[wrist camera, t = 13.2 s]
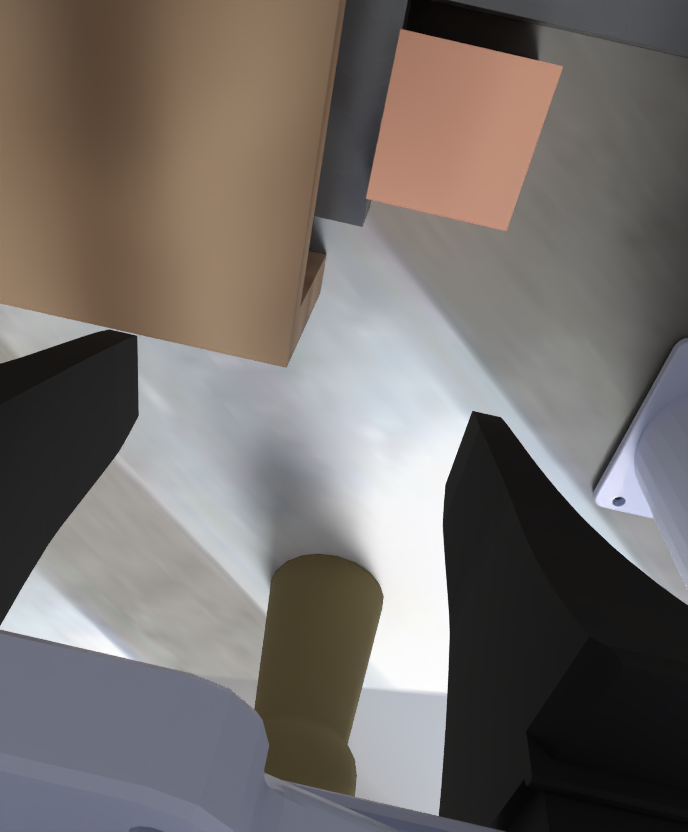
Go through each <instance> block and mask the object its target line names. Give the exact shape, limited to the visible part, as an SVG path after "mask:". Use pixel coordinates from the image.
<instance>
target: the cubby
mask: <svg viewBox="0 0 688 832" xmlns="http://www.w3.org/2000/svg"><path fill="white" fill-rule="evenodd" d="M345 5H346V0H0V303H1V304H5V305H10V306H14V307H19V308H23V309H28V310H32V311H36V312H41V313H45V314H50V315H54V316H59V317H63V318H68V319H72V320H77V321H81V322H86V323H90V324H94V325H99V326H103V327H108V328H112V329H117V330H121V331H126V332H130V333H135V334H139V335H144V336H148V337H152V338H157V339H161V340H166V341H170V342H175V343H179V344H184V345H188V346H193V347H197V348H202V349H206V350H210V351H215V352H219V353H224V354H228V355H233V356H237V357H242V358H246V359H251V360H255V361H259V362H264V363H268V364H273V365H277V366H282V367H286V368H287V365H288V363H289V361H290V359H291V357H292V354H293V352H294V350H295V348H296V345H297V343H298V341H299V339H300V337H301V334H302V332H303V330H304V328H305V325H306V323H307V321H308V319H309V317H310V314H311V312H312V310H313V308H314V305H315V303H316V301H317V299H318V297H319V294H320V290H321V284H322V278H323V272H324V266H325V260H326V254H321V253H317V252H312V251H309V245H310V238H311V232H312V225H313V218H314V212H315V205H316V198H317V192H318V185H319V178H320V172H321V165H322V158H323V152H324V145H325V138H326V132H327V125H328V118H329V112H330V105H331V98H332V91H333V85H334V78H335V71H336V65H337V58H338V51H339V45H340V38H341V31H342V25H343V18H344V11H345Z"/></svg>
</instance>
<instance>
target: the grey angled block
mask: <svg viewBox="0 0 688 832" xmlns="http://www.w3.org/2000/svg"><path fill="white" fill-rule="evenodd" d="M431 1H435V2H440V3H444V4H449V5H453V6H458V7H462V8H467V9H471V10H476V11H480V12H485V13H489V14H494V15H498V16H503V17H507V18H511V19H516V20H520V21H525V22H529V23H534V24H538V25H543V26H547V27H552V28H556V29H561V30H565V31H570V32H574V33H579V34H583V35H587V36H592V37H596V38H601V39H605V40H610V41H614V42H619V43H623V44H628V45H632V46H637V47H641V48H646V49H650V50H655V51H659V52H663V53H668V54H672V55H677V56H681V57H686V58H688V0H431ZM411 3H412V0H346V5H345V11H344V18H343V25H342V31H341V38H340V45H339V51H338V58H337V65H336V71H335V78H334V85H333V91H332V98H331V105H330V112H329V118H328V125H327V132H326V138H325V145H324V152H323V158H322V165H321V172H320V178H319V185H318V192H317V198H316V205H315V212H314V216H317V217H321V218H326V219H330V220H335V221H339V222H344V223H348V224H352V225H357V226H361V227H362V226H363V223H364V221H365V218H366V216H367V213H368V210H369V208H370V203H371V200H369V199H366V196H367V191H368V186H369V181H370V176H371V171H372V166H373V161H374V157H375V152H376V147H377V142H378V137H379V132H380V127H381V122H382V117H383V112H384V108H385V103H386V98H387V93H388V88H389V83H390V78H391V73H392V68H393V63H394V59H395V54H396V49H397V44H398V39H399V34H400V29H403V30H406V27H407V22H408V18H409V13H410V8H411Z"/></svg>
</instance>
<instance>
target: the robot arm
mask: <svg viewBox="0 0 688 832" xmlns="http://www.w3.org/2000/svg"><path fill="white" fill-rule="evenodd" d="M138 416H139V412H138V353H137V336H136V335H131V334H127V333H122V332H118V331H113V330H105V331H100V332H97V333H93V334H90V335H87V336H84V337H80V338H77V339H74V340H71V341H69V342H66V343H63V344H60V345H57V346H54V347H51V348H48V349H45V350H42V351H39V352H36V353H33V354H30V355H27V356H24V357H21V358H18V359H15V360H11V361H8V362H5V363H1V364H0V625H1V623H2V622H3V620H4V618H5V616H6V615H7V613H8V611H9V609H10V608H11V606H12V604H13V602H14V601H15V599H16V597H17V595H18V594H19V592H20V590H21V589H22V587H23V585H24V583H25V582H26V580H27V578H28V577H29V575H30V573H31V572H32V570H33V569H34V567H35V565H36V564H37V562H38V560H39V559H40V557H41V555H42V554H43V552H44V551H45V549H46V547H47V546H48V544H49V543H50V541H51V540H52V538H53V537H54V536H55V534H56V533H57V531H58V530H59V529H60V527H61V526H62V525H63V523H64V522H65V521H66V519H67V518H68V517H69V516H70V514H71V513H72V512H73V510H74V509H75V508H76V507H77V505H78V504H79V503H80V502H81V500H82V499H83V498H84V496H85V495H86V494H87V493H88V491H89V490H90V489H91V487H92V486H93V485H94V484H95V482H96V481H97V480H98V478H99V477H100V476H101V475H102V473H103V472H104V471H105V469H106V468H107V467H108V465H109V464H110V463H111V462H112V460H113V459H114V457H115V456H116V455H117V453H118V452H119V450H120V449H121V447H122V445H123V444H124V442H125V440H126V438H127V437H128V435H129V433H130V431H131V429H132V427H133V425H134V424H135V422H136V420H137V418H138ZM593 497H594V500H595V503H596V504H597V505H599V506H601V507H605V508H609V509H613V510H618V511H622V512H627V513H631V514H636V515H640V516H644V517H649V518H653V519H655V521H656V523H657V526H658V528H659V530H660V532H661V534H662V536H663V539H664V541H665V543H666V545H667V547H668V549H669V552H670V554H671V556H672V558H673V560H674V562H675V565H676V567H677V569H678V571H679V573H680V575H681V578H682V580H683V582H684V584H685V586H686V588H687V591H688V338H685V339H682V340H680V341H679V342H677V343H676V345H675V346H674V347H673V349H672V351H671V353H670V354H669V356H668V358H667V360H666V362H665V363H664V365H663V367H662V369H661V371H660V372H659V374H658V376H657V378H656V380H655V382H654V383H653V385H652V387H651V389H650V391H649V392H648V394H647V396H646V398H645V400H644V401H643V403H642V405H641V407H640V409H639V410H638V412H637V414H636V416H635V418H634V419H633V421H632V423H631V425H630V427H629V429H628V430H627V432H626V434H625V436H624V438H623V439H622V441H621V443H620V445H619V447H618V448H617V450H616V452H615V454H614V456H613V457H612V459H611V461H610V463H609V465H608V466H607V468H606V470H605V472H604V474H603V476H602V477H601V479H600V481H599V483H598V485H597V486H596V488H595V490H594V492H593ZM617 497H622V498H621V499H619V500H613V499H614V498H617ZM443 537H444V552H445V565H446V578H447V592H448V605H449V624H450V645H449V673H448V694H447V713H446V731H445V746H444V759H443V773H442V787H441V798H440V809H439V816H436V815H431V814H427V813H422V812H418V811H414V810H409V809H405V808H400V807H396V806H392V805H388V804H383V803H379V802H375V801H370V800H366V799H362V798H357V797H353V796H349V795H344V794H340V793H336V792H331V791H327V790H323V789H318V788H314V787H310V786H305V785H301V784H297V783H292V782H288V781H284V780H280V779H278V778H276V777H273V776H271V775H269V774H266V773H264V768H265V763H266V758H267V754H268V749H269V742H268V739H267V735H266V731H265V727H264V724H263V720H262V718H261V717H260V716H259V714H258V713H257V712H256V711H255V710H254V709H253V708H252V707H251V706H249V705H248V704H247V703H246V702H245V701H244V700H243V699H241V698H240V697H239V696H238V695H236V693H234V692H233V691H232V690H231V689H229V688H226V687H224V686H222V685H219V684H217V683H214V682H212V681H209V680H206V679H204V678H201V677H199V676H196V675H194V674H191V673H187V672H183V671H178V670H174V669H169V668H165V667H161V666H156V665H152V664H148V663H143V662H139V661H135V660H130V659H126V658H121V657H117V656H113V655H108V654H104V653H100V652H95V651H91V650H87V649H82V648H78V647H73V646H69V645H65V644H60V643H56V642H52V641H47V640H43V639H39V638H34V637H30V636H25V635H21V634H17V633H12V632H8V631H4V630H0V832H688V605H687V604H685V603H684V602H682V601H681V600H679V599H678V598H676V597H675V596H674V595H672V594H671V593H670V592H668V591H667V590H666V589H664V588H663V587H662V586H660V585H659V584H657V583H656V582H655V581H654V580H652V579H651V578H650V577H649V576H647V575H646V574H645V573H644V572H642V571H641V570H640V569H639V568H637V567H636V566H635V565H634V564H632V563H631V562H630V561H629V560H627V559H626V558H625V557H624V556H623V555H622V554H621V553H619V552H618V551H617V550H616V549H615V548H614V547H613V546H611V545H610V544H609V543H608V542H607V541H606V540H605V539H604V538H603V537H602V536H601V535H600V534H599V533H598V532H597V531H596V530H595V529H593V528H592V527H591V526H590V525H589V524H588V523H587V522H586V521H585V520H584V519H583V518H582V517H581V516H580V515H579V514H578V512H577V511H576V510H575V509H574V508H573V507H572V506H571V505H570V504H569V502H568V501H567V500H566V499H565V498H564V497H563V496H562V495H561V494H560V492H559V491H558V490H557V489H556V488H555V486H554V485H553V484H552V483H551V482H550V481H549V479H548V478H547V477H546V476H545V474H544V473H543V472H542V471H541V469H540V468H539V467H538V465H537V464H536V463H535V462H534V460H533V459H532V458H531V456H530V455H529V454H528V452H527V451H526V450H525V448H524V447H523V445H522V444H521V443H520V441H519V440H518V439H517V437H516V436H515V435H514V433H513V432H512V431H511V429H510V428H509V427H508V425H507V424H506V423H505V421H504V420H503V419H502V418H501V417H497V416H493V415H488V414H484V413H479V412H475V411H472V414H471V416H470V419H469V422H468V425H467V427H466V430H465V433H464V436H463V438H462V441H461V444H460V447H459V449H458V452H457V455H456V458H455V460H454V463H453V466H452V469H451V471H450V474H449V477H448V480H447V482H446V485H445V498H444V512H443Z"/></svg>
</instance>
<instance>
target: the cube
mask: <svg viewBox="0 0 688 832" xmlns="http://www.w3.org/2000/svg"><path fill="white" fill-rule="evenodd" d="M562 68H563V66H559V65H555V64H551V63H546V62H542V61H538V60H533V59H529V58H525V57H520V56H516V55H511V54H507V53H503V52H498V51H494V50H490V49H485V48H481V47H477V46H472V45H468V44H464V43H459V42H455V41H451V40H446V39H442V38H438V37H433V36H429V35H425V34H420V33H416V32H411V31H407V30H403V29H400V34H399V39H398V44H397V49H396V54H395V59H394V63H393V68H392V73H391V78H390V83H389V88H388V93H387V98H386V103H385V108H384V112H383V117H382V122H381V127H380V132H379V137H378V142H377V147H376V152H375V157H374V161H373V166H372V171H371V176H370V181H369V186H368V191H367V196H366V199H369V200H374V201H378V202H382V203H387V204H391V205H395V206H400V207H404V208H408V209H413V210H417V211H421V212H426V213H430V214H434V215H439V216H443V217H447V218H452V219H456V220H460V221H465V222H469V223H473V224H478V225H482V226H486V227H491V228H495V229H499V230H504V231H507V228H508V225H509V222H510V220H511V217H512V214H513V211H514V208H515V205H516V202H517V199H518V196H519V193H520V190H521V188H522V185H523V182H524V179H525V176H526V173H527V170H528V167H529V164H530V161H531V158H532V156H533V153H534V150H535V147H536V144H537V141H538V138H539V135H540V132H541V129H542V126H543V124H544V121H545V118H546V115H547V112H548V109H549V106H550V103H551V100H552V97H553V94H554V92H555V89H556V86H557V83H558V80H559V77H560V74H561V71H562Z"/></svg>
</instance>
